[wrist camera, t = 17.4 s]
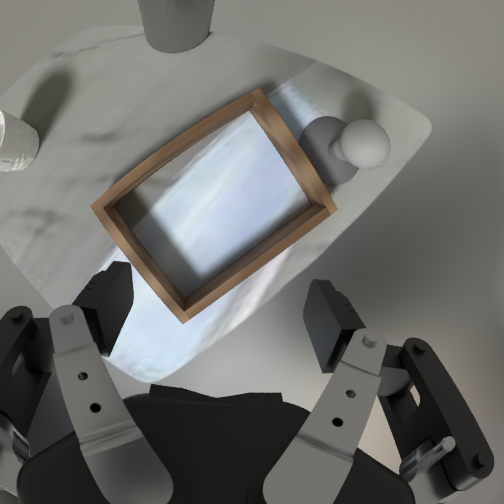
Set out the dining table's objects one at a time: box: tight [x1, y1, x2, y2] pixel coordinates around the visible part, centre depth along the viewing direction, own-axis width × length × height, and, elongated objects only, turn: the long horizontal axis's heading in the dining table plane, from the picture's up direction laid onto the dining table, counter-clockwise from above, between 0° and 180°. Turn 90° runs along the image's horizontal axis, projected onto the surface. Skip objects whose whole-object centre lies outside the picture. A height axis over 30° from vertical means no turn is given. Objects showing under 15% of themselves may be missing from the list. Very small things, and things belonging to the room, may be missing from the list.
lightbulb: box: [328, 119, 390, 170], centre depth 31 cm, size 6×6×11 cm
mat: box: [300, 117, 359, 185], centre depth 36 cm, size 10×10×1 cm
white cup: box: [0, 109, 39, 172], centre depth 21 cm, size 8×8×10 cm
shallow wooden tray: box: [90, 88, 338, 324], centre depth 32 cm, size 18×24×4 cm
